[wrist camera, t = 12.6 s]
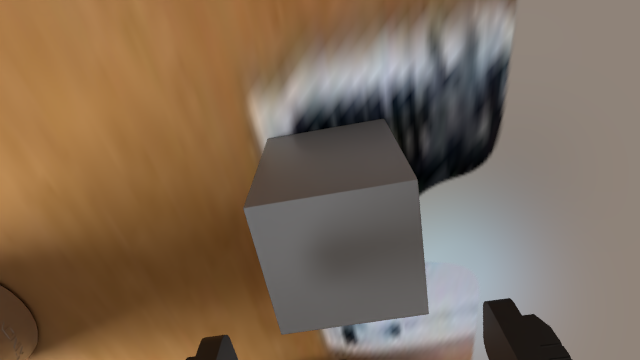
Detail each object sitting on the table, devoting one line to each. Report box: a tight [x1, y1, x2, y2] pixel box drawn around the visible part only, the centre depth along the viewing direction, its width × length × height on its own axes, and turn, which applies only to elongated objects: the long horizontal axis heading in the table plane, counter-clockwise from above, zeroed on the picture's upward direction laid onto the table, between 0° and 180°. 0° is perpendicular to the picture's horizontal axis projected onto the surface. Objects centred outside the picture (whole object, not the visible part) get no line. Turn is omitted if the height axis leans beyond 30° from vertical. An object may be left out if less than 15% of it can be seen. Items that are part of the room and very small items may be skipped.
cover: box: [243, 119, 429, 334], centre depth 20 cm, size 7×7×8 cm
